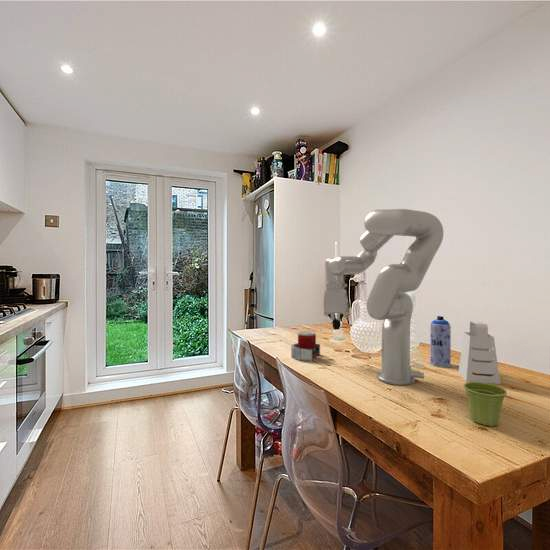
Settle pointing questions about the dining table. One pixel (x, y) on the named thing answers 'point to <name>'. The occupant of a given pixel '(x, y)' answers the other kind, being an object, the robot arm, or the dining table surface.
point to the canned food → (307, 341)
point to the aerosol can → (440, 343)
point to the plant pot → (484, 402)
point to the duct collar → (303, 352)
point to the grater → (479, 355)
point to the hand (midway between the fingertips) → (336, 329)
